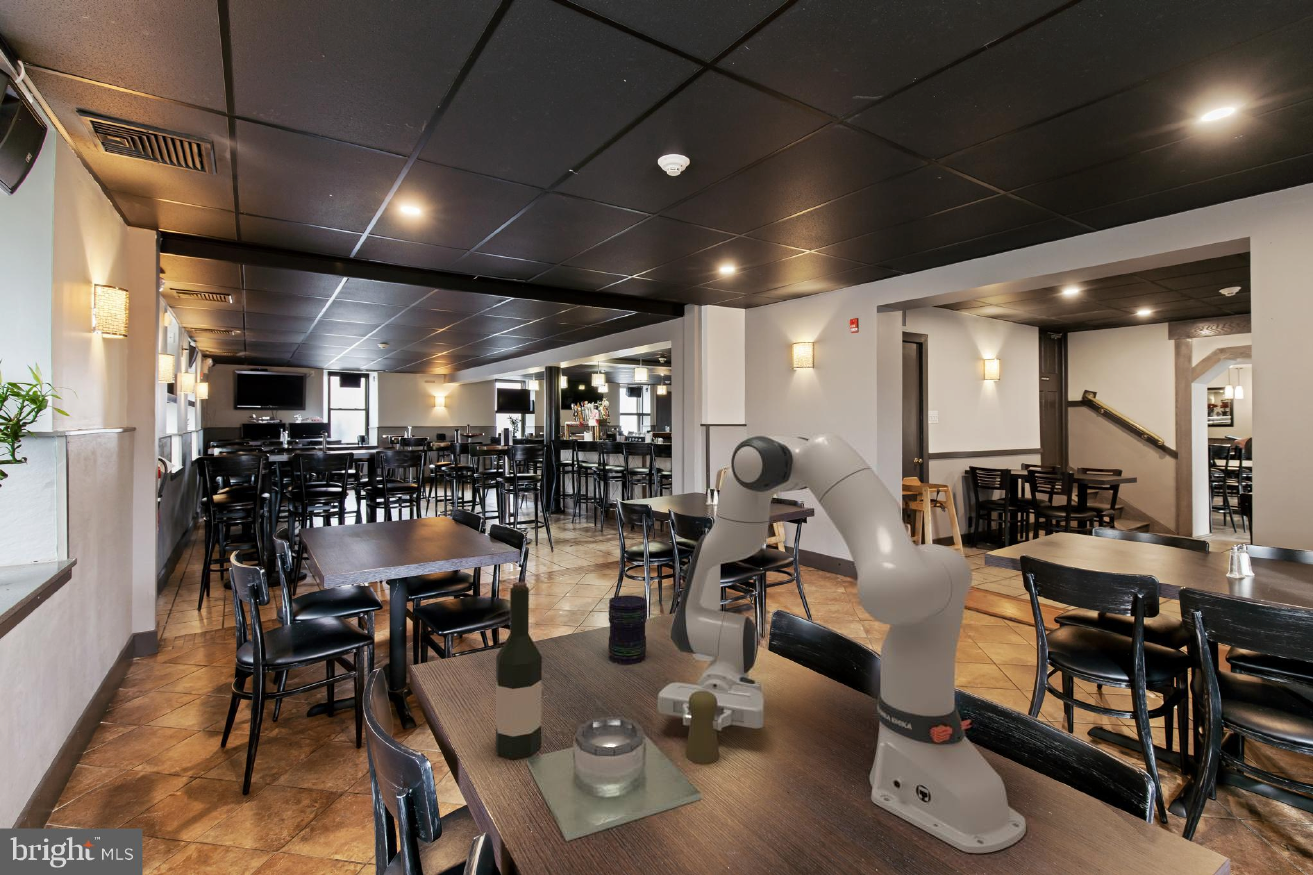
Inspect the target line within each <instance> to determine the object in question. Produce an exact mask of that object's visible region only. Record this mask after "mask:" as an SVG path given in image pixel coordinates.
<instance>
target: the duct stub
mask: <svg viewBox="0 0 1313 875" xmlns="http://www.w3.org/2000/svg"><path fill="white" fill-rule="evenodd" d="M644 731H645V730H644V728H643V727H642V725H640V724H639V723H638V721H636V720H633V719H630V718H626V717H623V716H603V717H598V718H593V719H589V720H587V721H586V722H584V723H583V724H581V725H579V726H578V728H577V730H576V733H575V734H574V736H573V742H572V746H571V747H569V748H564V749H559V750H556V751H551V752H548V753H544V754H539V755H538V754H537V755H533V756H531V757H527V758H526V766H527V767H528V770H529V771H530V773H531V775H532V777H533V779H534V781H535V783H536V786H537V788H538V789H539V791H540V793H541V794H542V798H544V799H543V800H544V801H545V803H546V804H547V806H548V808H549V810H550V812H551V814H552V816H553V818H554V820H555V822H556V824H557V826H558V828H559V830H560V832H561V834H562V836H563V838H564V840H565V841H566V842H570V841H572V840H576V839H579V838H581V837H585V836H588V835H592V834H595V833H598V832H601V831H604V830H608V829H610V828H613V827H617V826H621V825H624V824H627V823H630V822H632V821H636V820H641V819H643V818H646V817H649V816H652V815H656V814H659V813H662V812H665V811H669V810H671V809H674V808H677V807H681V806H684V805H688V804H690V803H694V802H696V801H699V800H702V792H701V791H700V790H699V789H698V788H697V787H696V786H695V785H694V783H693V782H691V781H690V780H689V779H688V778H687V777H686V776H685V775H684V773H683V772H681V770H680V769H679V768H677V766H676V765H674V763H673V762H672V761H671V760H670V759H669V758H668V757H667V756H666V755H665V754H664V752H662V751H661V750H660V749H659V748H658V746H656V744H655V743H654V742H653V741H652V740H651V739H650V738H649V737H648V736H647V735H646V733H645V732H644Z"/></svg>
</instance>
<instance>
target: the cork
mask: <svg viewBox="0 0 1313 875" xmlns="http://www.w3.org/2000/svg"><path fill="white" fill-rule="evenodd" d="M689 709H690V711H691V721H690V726H689V728H688V734H687V735H688V736H687V742H686V750H685V757H686V759H687V760H688V761H690V762H692V763H694V764H698V765H711V764H714V763H716V762H717V761H719V759H720V750H719V741H718V733H717V730H714V729H713V720H714V718H715V716H714V713H715V712H716V710H717V698H716V697H715V695H714V694H712V693H711V692H708V691H697V692H694V693H692V694H691V696H690V697H689Z"/></svg>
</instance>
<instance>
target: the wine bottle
mask: <svg viewBox="0 0 1313 875" xmlns="http://www.w3.org/2000/svg"><path fill="white" fill-rule="evenodd" d="M509 590H510V592H509V593H510V594H509V596H510V597H509V599H510V600H509V604H510V605H509V634H508V636H507V637H506V640H505V641H504V643H503V644H502V647H501V648H500V649H499V652H497V654H496V657H495V661H496V662H495V663H496V666H495V668H496V671H495V673H496V674H495V676H496V677H495V681H496V682H495V750H496V753H497V757H499V758H502V759H506V760H510V761H515V760H522V759H527V758H530V757H533V756H535V754H536V753H537V752H538V751H539V750H541V749H542V696H543V694H542V692H543V691H542V686H543V684H542V683H543V682H542V681H543V680H542V677H543V676H542V675H543V674H542V673H543V671H542V670H543V669H542V668H543V666H542V664H543V661H542V659H543V657H542V654H541V653H540V651H539V650H538V647H537V646H536V644H535V642H534V641H533V639H532V637H531V636H530V634H529V631H530V630H529V624H530V622H529V620H530V618H529V617H530V616H529V614H530V613H529V612H530V609H529V608H530V607H529V606H530V605H529V604H530V599H529V598H530V595H529V594H530V589H529V587H528V586H527V583H526V581H525V582H523V581H521V582H520V581H517V582H514V583H512V587H510V589H509Z"/></svg>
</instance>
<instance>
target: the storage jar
mask: <svg viewBox="0 0 1313 875" xmlns="http://www.w3.org/2000/svg"><path fill="white" fill-rule="evenodd" d="M608 604H609V605H608V623H609V636H608V653H609V655H608V660H609V662H611V661H612V662H613V663H612V662H611V663H612V664H615V663H617V664H616V665H619V664H620V666H633V664H634V665H638V664H637V663H639V664H642V663H643V662H645V661H646V660H647V655H646V653H647V636H646V623H647V613H648V612H647V599H646V598H645V597H643V596H638V595H632V594H631V595H630V594H629V595H617V596H614V597H611V598H610V599H609V600H608ZM644 660H645V661H644ZM642 661H643V662H642Z"/></svg>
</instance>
